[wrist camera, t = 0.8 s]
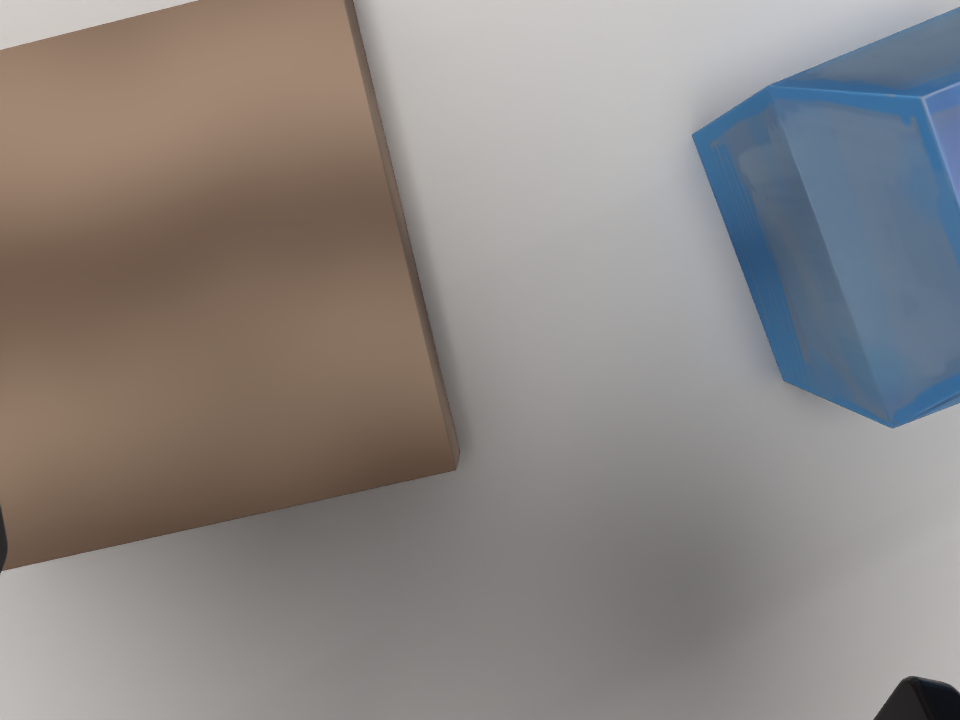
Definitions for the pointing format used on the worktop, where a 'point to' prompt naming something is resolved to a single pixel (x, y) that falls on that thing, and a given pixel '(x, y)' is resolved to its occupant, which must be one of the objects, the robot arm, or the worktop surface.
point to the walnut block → (203, 279)
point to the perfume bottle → (854, 220)
